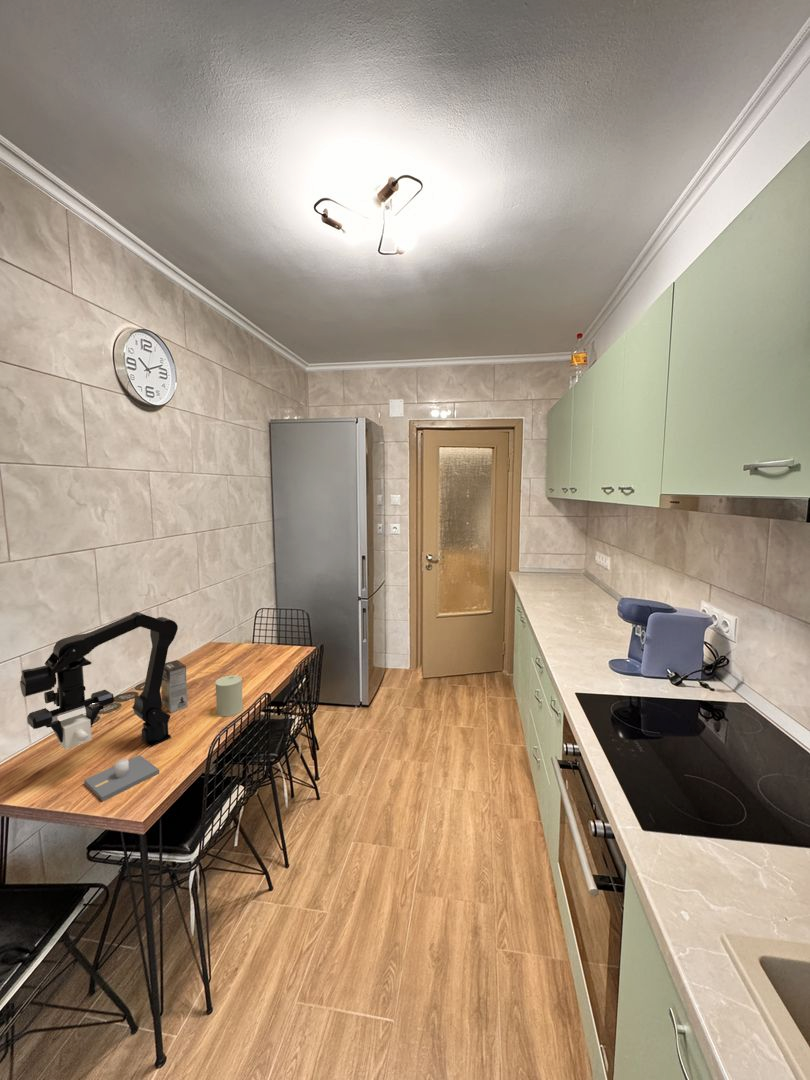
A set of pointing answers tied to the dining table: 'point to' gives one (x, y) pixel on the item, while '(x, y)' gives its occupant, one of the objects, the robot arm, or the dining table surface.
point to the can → (229, 695)
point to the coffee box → (174, 686)
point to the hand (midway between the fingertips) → (74, 736)
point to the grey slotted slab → (121, 777)
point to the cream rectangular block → (75, 731)
